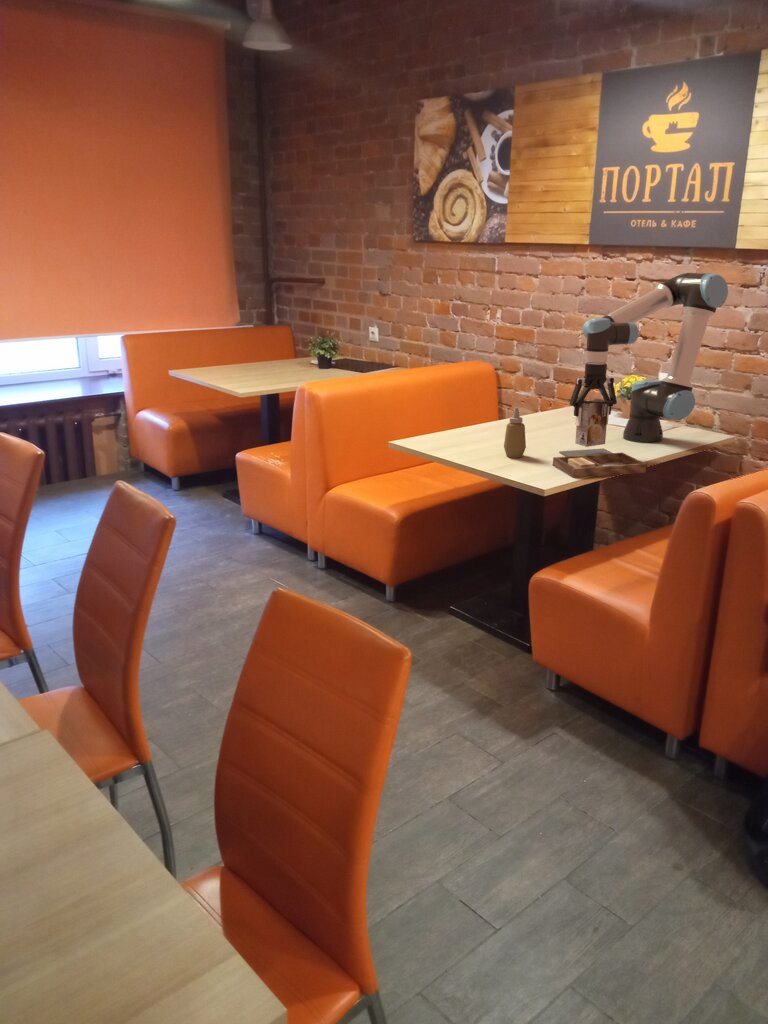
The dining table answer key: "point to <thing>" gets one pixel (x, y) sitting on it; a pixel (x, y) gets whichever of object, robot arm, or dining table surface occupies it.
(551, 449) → the dining table surface
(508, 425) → the squeeze bottle
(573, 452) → the mat
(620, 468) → the wooden tray
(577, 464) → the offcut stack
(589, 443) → the coffee box
